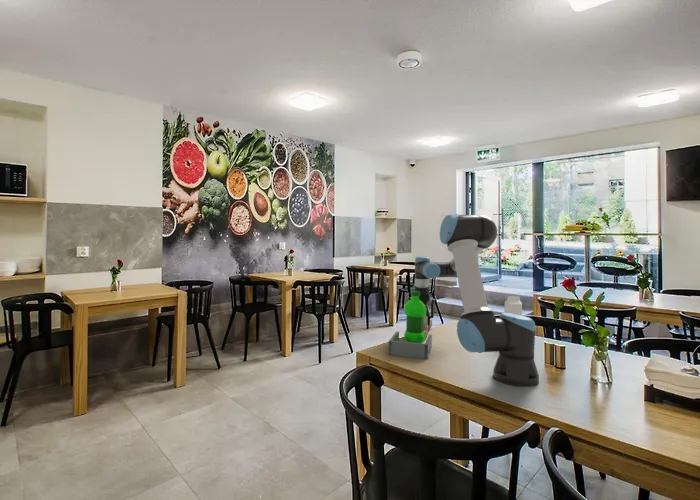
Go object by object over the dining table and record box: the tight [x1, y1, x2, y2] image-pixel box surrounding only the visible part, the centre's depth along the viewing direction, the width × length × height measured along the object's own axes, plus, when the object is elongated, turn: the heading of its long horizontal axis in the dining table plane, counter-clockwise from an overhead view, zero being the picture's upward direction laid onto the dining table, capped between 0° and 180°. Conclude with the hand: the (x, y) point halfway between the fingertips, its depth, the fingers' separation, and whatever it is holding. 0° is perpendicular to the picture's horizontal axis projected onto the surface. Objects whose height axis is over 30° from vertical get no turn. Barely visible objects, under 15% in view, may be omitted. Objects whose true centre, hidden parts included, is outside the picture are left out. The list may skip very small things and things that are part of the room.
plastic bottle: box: [403, 290, 427, 344], centre depth 174 cm, size 10×10×25 cm
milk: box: [503, 295, 523, 316], centre depth 180 cm, size 6×6×22 cm
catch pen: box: [388, 331, 433, 360], centre depth 165 cm, size 16×16×6 cm
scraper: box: [423, 314, 433, 340], centre depth 195 cm, size 28×8×10 cm, turn 161°
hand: (421, 330), depth 196 cm, fingers closed on scraper, 5 cm apart
